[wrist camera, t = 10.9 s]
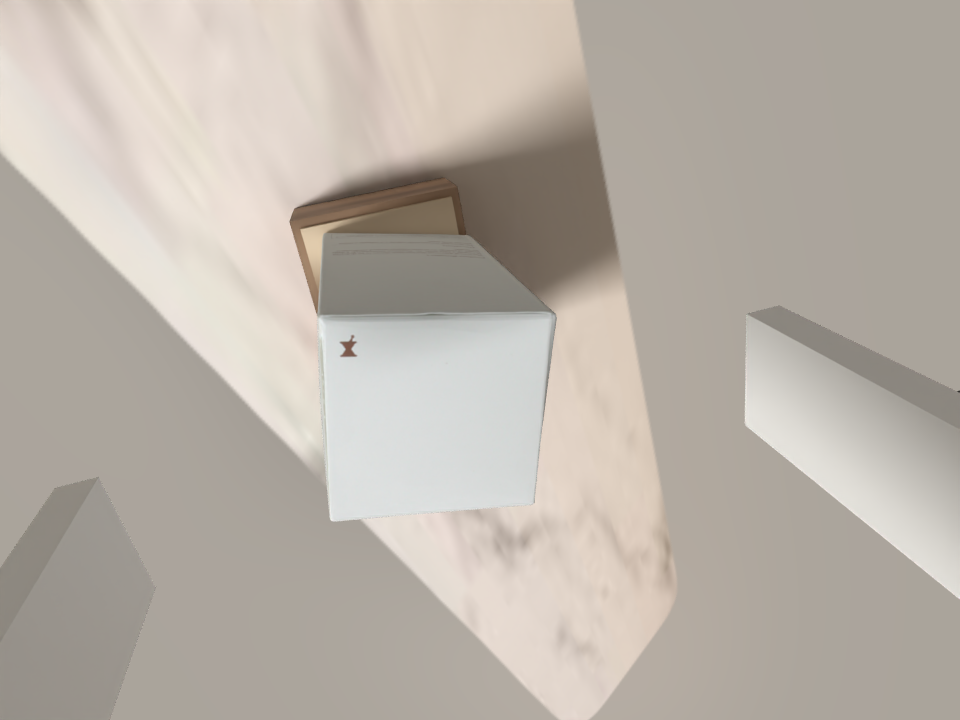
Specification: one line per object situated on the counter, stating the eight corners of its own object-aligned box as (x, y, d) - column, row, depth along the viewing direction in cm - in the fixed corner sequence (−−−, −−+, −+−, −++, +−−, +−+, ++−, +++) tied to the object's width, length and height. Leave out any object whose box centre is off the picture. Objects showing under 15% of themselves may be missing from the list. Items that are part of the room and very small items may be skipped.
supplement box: (324, 376, 32) (319, 528, 20) (321, 228, 29) (312, 308, 18) (468, 372, 34) (537, 512, 22) (476, 232, 31) (561, 309, 19)
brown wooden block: (294, 208, 33) (289, 223, 29) (444, 177, 34) (458, 187, 30) (344, 379, 37) (345, 412, 33) (476, 347, 38) (492, 375, 34)
